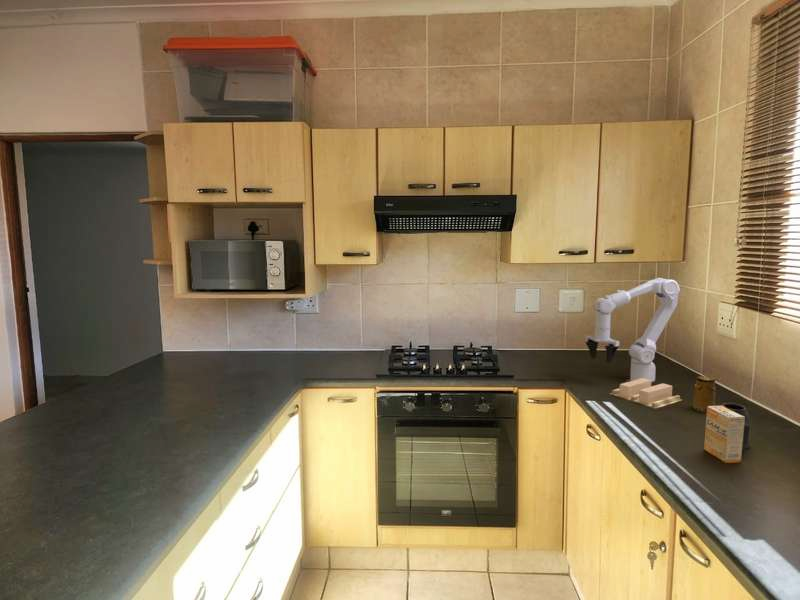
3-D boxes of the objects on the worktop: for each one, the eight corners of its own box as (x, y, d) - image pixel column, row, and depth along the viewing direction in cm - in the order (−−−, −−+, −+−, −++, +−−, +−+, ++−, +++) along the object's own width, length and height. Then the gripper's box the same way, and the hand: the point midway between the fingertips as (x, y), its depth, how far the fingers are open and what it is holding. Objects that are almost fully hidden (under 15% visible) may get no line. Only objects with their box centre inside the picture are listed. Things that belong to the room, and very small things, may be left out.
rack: (636, 388, 187) (636, 382, 187) (682, 402, 171) (682, 396, 171) (609, 395, 180) (609, 389, 179) (655, 410, 164) (655, 404, 163)
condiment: (700, 407, 166) (702, 374, 165) (725, 414, 159) (727, 380, 157) (686, 410, 163) (689, 377, 161) (712, 419, 155) (714, 383, 154)
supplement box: (702, 450, 134) (705, 405, 132) (718, 449, 134) (721, 404, 132) (725, 463, 125) (728, 416, 124) (742, 462, 126) (745, 415, 124)
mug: (707, 435, 143) (709, 400, 141) (741, 437, 141) (743, 401, 139) (725, 453, 131) (728, 414, 130) (762, 455, 129) (765, 416, 128)
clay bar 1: (641, 389, 184) (642, 377, 183) (650, 391, 181) (651, 380, 180) (619, 395, 177) (619, 384, 176) (628, 398, 174) (628, 386, 173)
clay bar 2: (662, 394, 177) (663, 383, 176) (671, 397, 174) (672, 385, 173) (638, 401, 170) (639, 389, 170) (648, 404, 167) (648, 392, 166)
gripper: (581, 326, 196) (580, 357, 197) (611, 331, 183) (610, 365, 185) (592, 324, 199) (591, 355, 201) (623, 329, 186) (621, 363, 188)
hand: (601, 360), depth 193 cm, fingers open, 7 cm apart
